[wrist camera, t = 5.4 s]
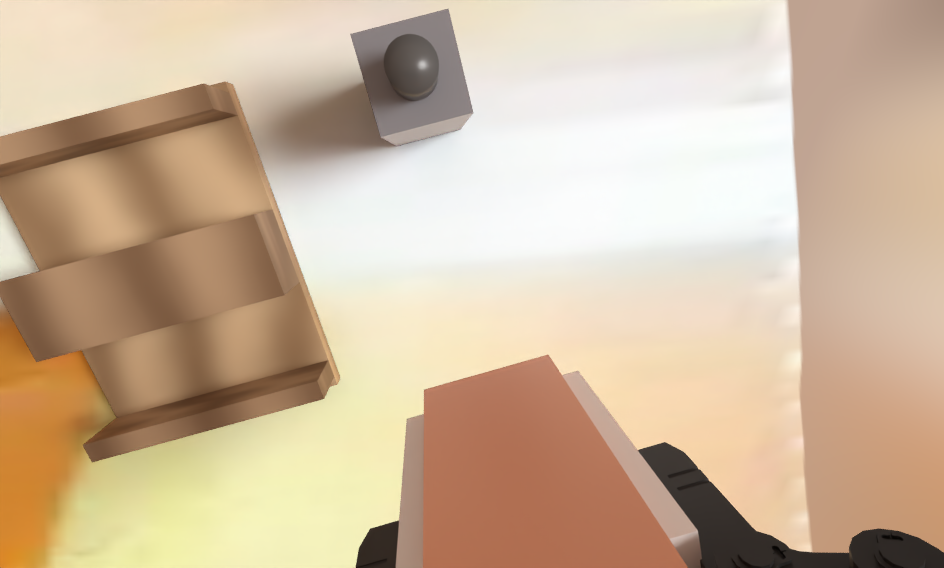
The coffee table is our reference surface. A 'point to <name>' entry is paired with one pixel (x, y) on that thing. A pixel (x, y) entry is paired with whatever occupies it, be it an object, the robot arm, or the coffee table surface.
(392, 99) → the charcoal plug
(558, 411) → the terracotta plug
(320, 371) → the wooden ridged block
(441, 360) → the coffee table surface
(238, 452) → the coffee table surface
